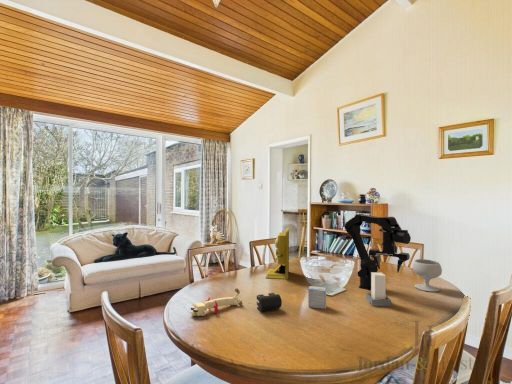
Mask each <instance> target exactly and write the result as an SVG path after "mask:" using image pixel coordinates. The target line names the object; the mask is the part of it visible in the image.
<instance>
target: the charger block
mask: <svg viewBox="0 0 512 384" xmlns="http://www.w3.org/2000/svg"><path fill="white" fill-rule="evenodd" d="M386 280H387V279H386V274H384V273H383V272H378V271H377V272H371V290H370V293H371V297H372V298H373V299H385V295H386V285H387V284H386Z"/></svg>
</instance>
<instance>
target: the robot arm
mask: <svg viewBox="0 0 512 384" xmlns="http://www.w3.org/2000/svg"><path fill="white" fill-rule="evenodd" d="M364 222H365V223H370V224H374V225H378V226H379V227H380V229H378V232H381V233H382V243H381V246H382V250H380V249H378V248H371V249H368V250H367V248H366V246H365V243H364V240H363V238H362V236H361V226H362V225H363V223H364ZM344 229H345V231H346V232H347V234H348V235H349V236H350V237H351V238H352V241H353V244H354V246H355V249H356V250H357V254H358V257H359V259H360V265H359V267H360V270H358V271H357V272H356V273H357V277H359V286H358V287H359V288H360V289H365V290H369V291H371V272H378V271H379V270H380V269H381V259H380V258H381V256H387V257H393V258H398V259H397V267H396V270H397V271H396V272H397V274H398V273H400V270H401V267H402V265H403V263H405V262H406V261H409V260H410V259H411V258H410V257H411V255H410V253H408V252H401V251H400V252H399V253H398V249H399V247H398V246H397V245H396V243H398V244H402V245H403V244H405V245H408V244H410V243H411V240H412V238H411V235H410V233H409V230H408V229H402V228H401V226H400V224H399V223H398V221H397V219H396V218H395V216H376V215H370V214H364V213H357V214H356V215H354V216H353V217H352V218H350V219H349V220H348V221H346V222H345V223H344ZM370 257H371V258H372V259H371V258H370Z"/></svg>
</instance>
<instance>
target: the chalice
mask: <svg viewBox="0 0 512 384" xmlns="http://www.w3.org/2000/svg"><path fill="white" fill-rule="evenodd" d="M412 271H413V272H414V273H415V275H418V276H419V277H421V278H422V279H423V280H424V283H417V284H415V285H414V288H415V289H418V290H420V291H424V292H434V293H435V292H439V291H441V289H440V288H439V287H437V286H434V285H431V284H429V283H430V281H431V280H433V279H437V278H438V277H440V276H441V275H442V272H443V268H442V266H441V264H440V262H439V261H435V260H431V259H424V258H423V259H422V258H421V259H420V258H419V259H415V260H414V262H413V263H412Z"/></svg>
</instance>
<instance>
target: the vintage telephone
mask: <svg viewBox="0 0 512 384" xmlns="http://www.w3.org/2000/svg"><path fill="white" fill-rule="evenodd" d="M274 246H275V248H276V249H275V261H277V264H278V265H277V266H276V268H269V269H268V270H267V273H266V276H265V279H272V280H273V279H274V280H275V279H276V280H277V279H278V280H286V281H289V272H290V258H289V257H290V227H287V228H286V229H285V232H284V231H281V232H278V234H277V237H276V239H275V242H274Z"/></svg>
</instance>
